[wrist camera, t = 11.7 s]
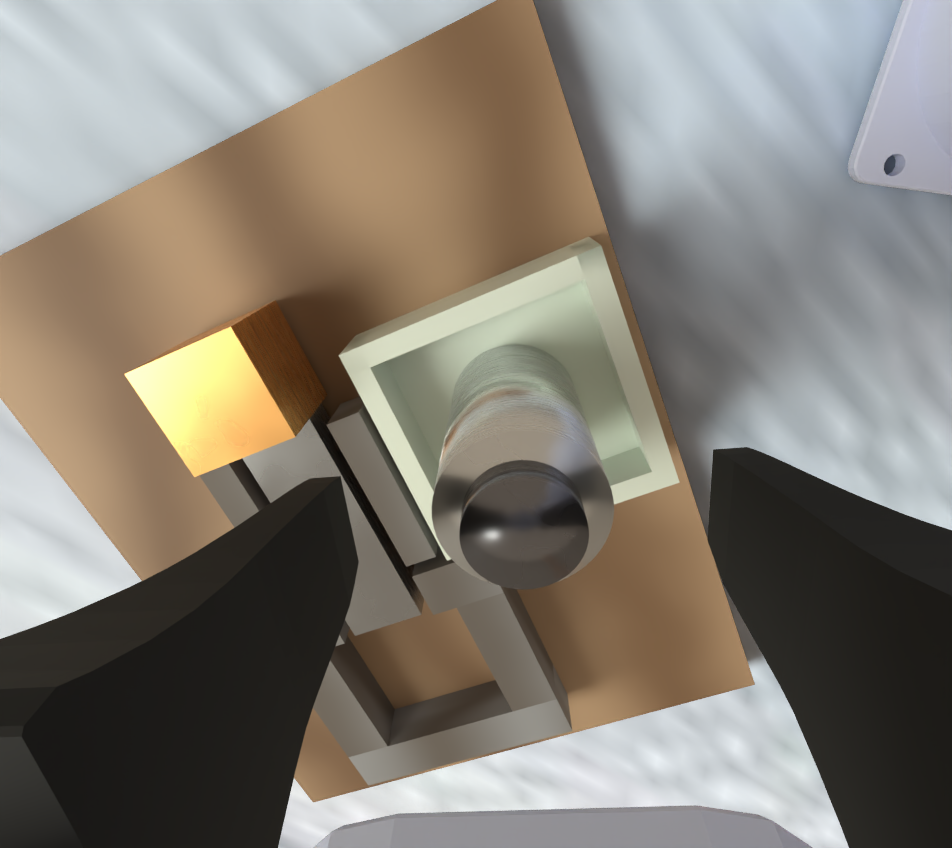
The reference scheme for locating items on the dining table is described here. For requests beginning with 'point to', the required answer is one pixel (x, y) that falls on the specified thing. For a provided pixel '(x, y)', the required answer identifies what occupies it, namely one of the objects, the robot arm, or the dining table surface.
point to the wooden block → (272, 438)
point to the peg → (520, 473)
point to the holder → (322, 339)
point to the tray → (502, 323)
